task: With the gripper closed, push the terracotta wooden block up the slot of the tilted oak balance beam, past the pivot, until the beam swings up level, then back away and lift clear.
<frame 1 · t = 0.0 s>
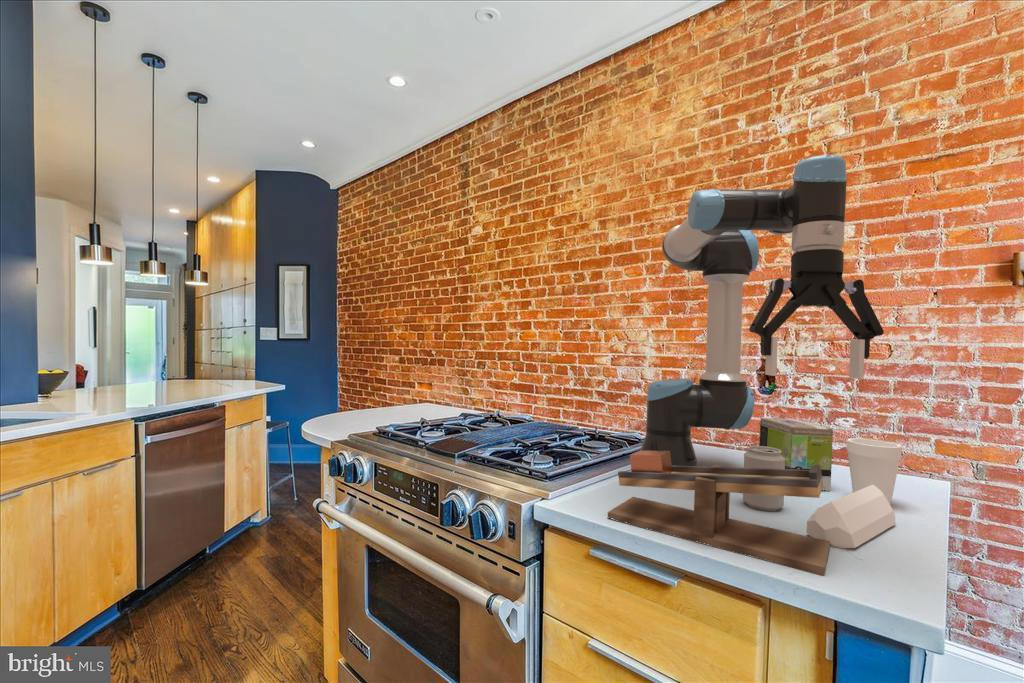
hand: (813, 377, 82), 28 cm above the table, tool pointing down, fingers open, 13 cm apart
can: (762, 507, 100), on the table
terracotta wooden block: (652, 474, 91), point 8 cm above the table, tilted 8°, touching beam
crystal: (852, 533, 88), on the table
beam: (712, 475, 85), point 10 cm above the table, hinge at -8.3°, touching terracotta wooden block
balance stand: (711, 532, 85), on the table
tea box: (792, 482, 119), on the table
foam cup: (871, 504, 104), on the table
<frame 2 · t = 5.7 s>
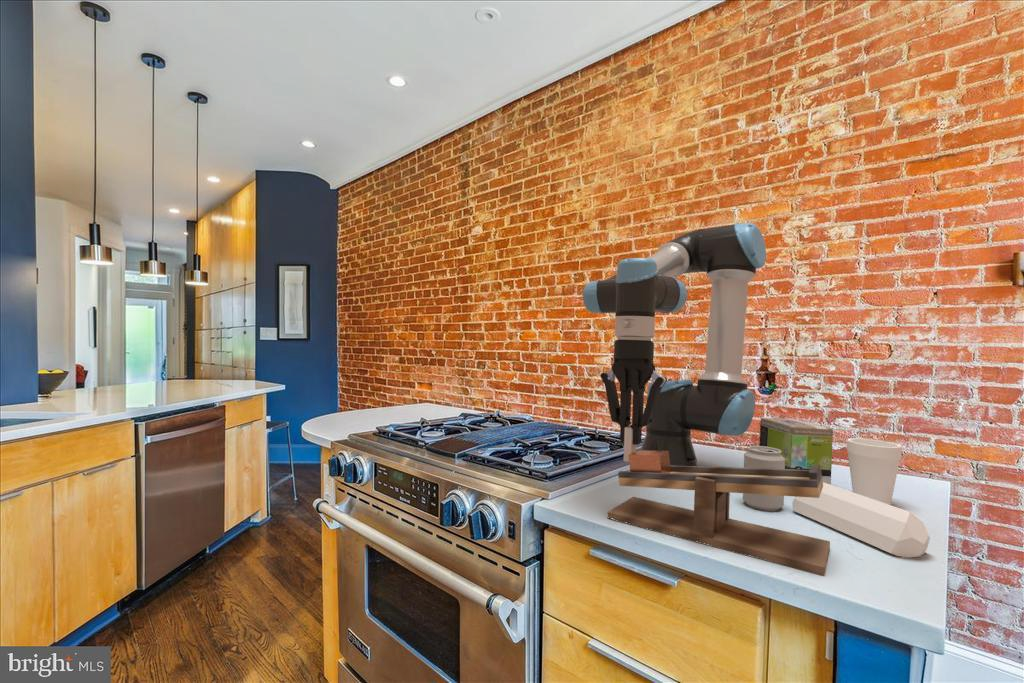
hand: (629, 460, 94), 10 cm above the table, tool pointing down, fingers closed
terracotta wooden block: (650, 474, 91), point 8 cm above the table, tilted 8°, touching beam, gripper
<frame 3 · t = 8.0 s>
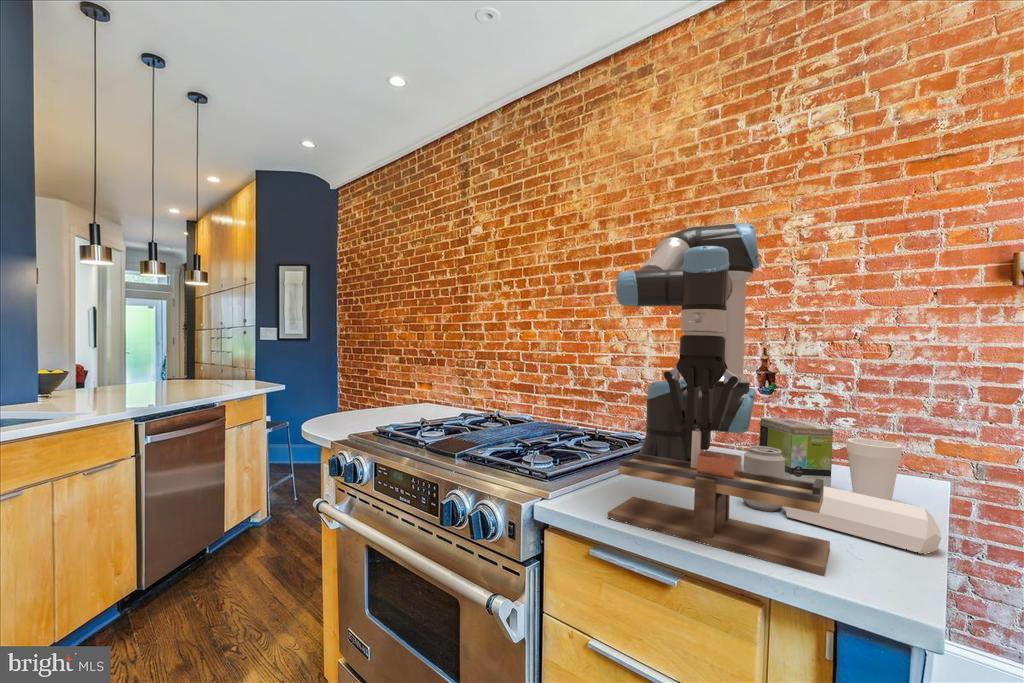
hand: (697, 466, 86), 11 cm above the table, tool pointing down, fingers closed
terracotta wooden block: (718, 478, 84), point 10 cm above the table, touching gripper
beam: (713, 475, 85), point 10 cm above the table, hinge at -0.1°
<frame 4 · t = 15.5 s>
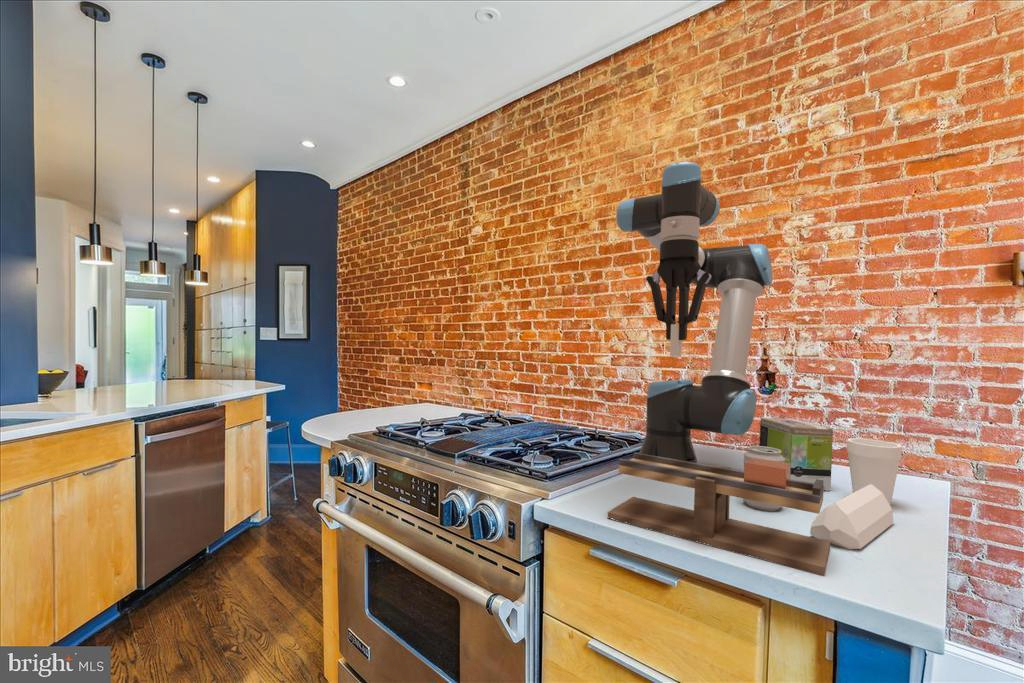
hand: (675, 356, 99), 30 cm above the table, tool pointing down, fingers closed
terracotta wooden block: (766, 487, 80), point 10 cm above the table, touching beam
beam: (713, 475, 85), point 10 cm above the table, hinge at 0.2°, touching terracotta wooden block
at the end: beam at +0° (first picture: -8°); terracotta wooden block inside the target area on the beam (0.3 cm from its centre), point 0.7 cm above the beam's base; the gripper is holding nothing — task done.
